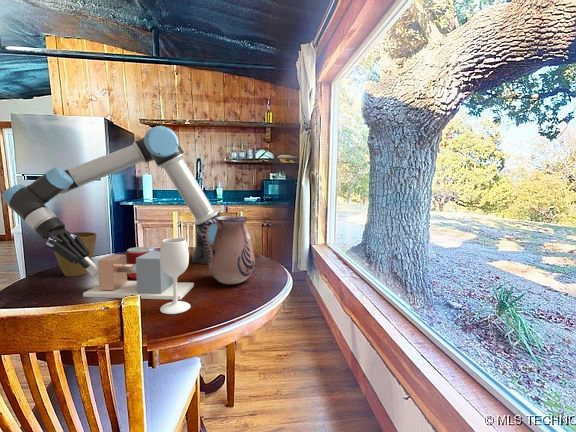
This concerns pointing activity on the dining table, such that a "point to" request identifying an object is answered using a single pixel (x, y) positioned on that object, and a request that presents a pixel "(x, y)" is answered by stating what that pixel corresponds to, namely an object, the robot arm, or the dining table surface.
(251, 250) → the ceramic pitcher
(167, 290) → the bearing block
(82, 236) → the plant pot
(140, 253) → the canned food
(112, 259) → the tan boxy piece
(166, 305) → the wineglass
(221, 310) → the dining table surface
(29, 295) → the dining table surface
